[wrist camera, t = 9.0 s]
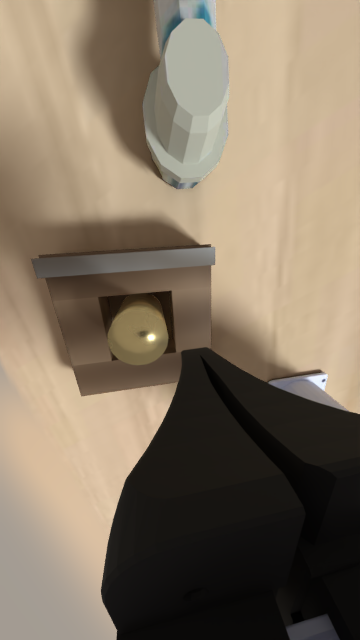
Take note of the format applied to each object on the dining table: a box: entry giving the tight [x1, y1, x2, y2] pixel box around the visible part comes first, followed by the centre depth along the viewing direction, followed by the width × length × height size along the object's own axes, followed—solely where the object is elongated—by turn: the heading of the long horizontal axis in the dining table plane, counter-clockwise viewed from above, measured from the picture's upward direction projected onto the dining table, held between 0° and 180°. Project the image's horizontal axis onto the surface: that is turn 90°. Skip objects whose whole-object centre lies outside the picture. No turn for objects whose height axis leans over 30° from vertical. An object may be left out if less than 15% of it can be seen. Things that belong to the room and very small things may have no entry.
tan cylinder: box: [108, 293, 168, 365], centre depth 16 cm, size 4×4×6 cm
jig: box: [31, 244, 215, 396], centre depth 17 cm, size 12×12×4 cm
